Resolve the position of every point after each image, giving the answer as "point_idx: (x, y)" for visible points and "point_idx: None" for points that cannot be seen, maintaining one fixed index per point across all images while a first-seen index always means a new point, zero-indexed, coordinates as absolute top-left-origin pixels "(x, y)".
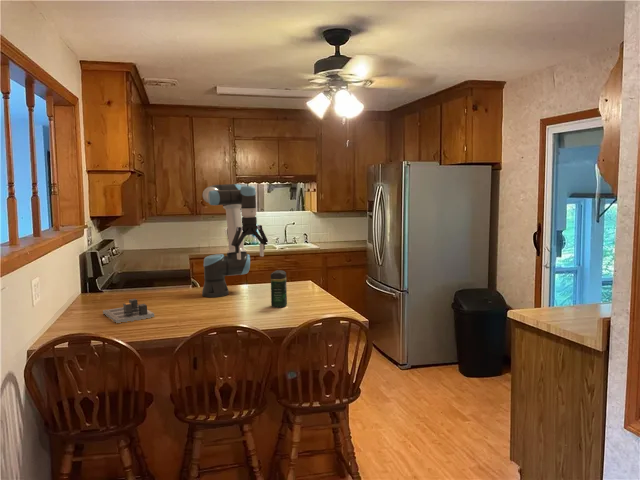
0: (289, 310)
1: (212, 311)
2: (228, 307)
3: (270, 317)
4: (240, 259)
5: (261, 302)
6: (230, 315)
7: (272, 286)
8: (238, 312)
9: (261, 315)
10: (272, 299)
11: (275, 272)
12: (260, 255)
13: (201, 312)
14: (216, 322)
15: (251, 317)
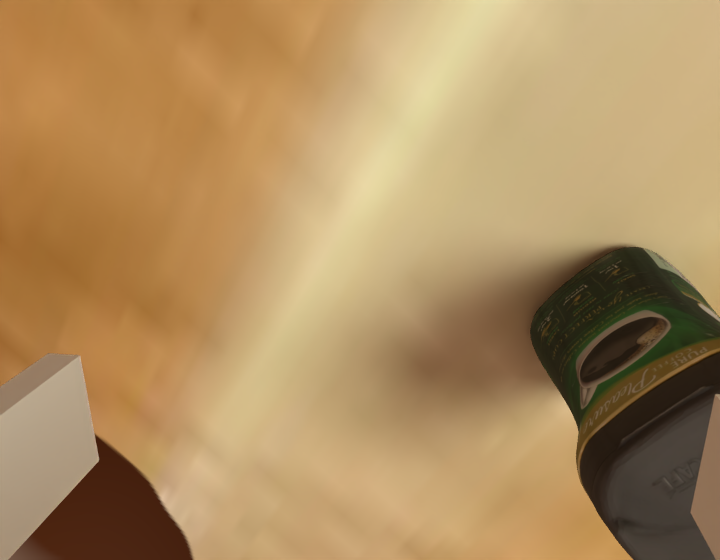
0: (562, 470)
1: (117, 81)
2: (271, 50)
3: (358, 506)
4: (84, 462)
5: (590, 97)
6: (182, 287)
7: (573, 411)
8: (261, 257)
9: (342, 433)
10: (541, 355)
11: (648, 548)
12: (718, 432)
13: (38, 46)
14: None
15: (268, 425)
